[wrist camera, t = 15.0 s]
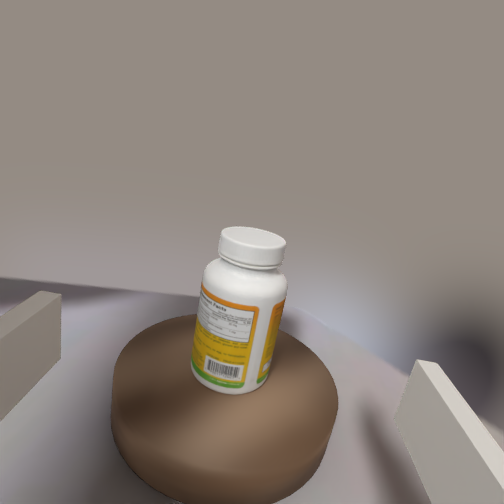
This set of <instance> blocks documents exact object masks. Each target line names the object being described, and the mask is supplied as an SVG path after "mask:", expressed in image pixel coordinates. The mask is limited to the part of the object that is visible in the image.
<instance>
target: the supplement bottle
mask: <svg viewBox="0 0 504 504" xmlns="http://www.w3.org/2000/svg"><path fill="white" fill-rule="evenodd" d="M285 247H286V242H285V240H284V239H283V238H282V237H280V236H278V235H276V234H274V233H271V232H268V231H265V230H261V229H256V228H249V227H228V228H225V229H223V230H222V232H221V236H220V242H219V247H218V254H219V255H220V257H221V258H218V259H215V260H213V261H212V262H210V263H209V264H208V265H207V266H206V268H205V270H204V273H203V278H202V285H201V292H200V298H199V306H198V313H197V320H196V327H195V334H194V341H193V347H192V354H191V369H192V372H193V374H194V376H195V377H196V378H197V380H198V381H200V382H201V383H202V384H203V385H205V386H206V387H208V388H210V389H212V390H214V391H217V392H220V393H224V394H232V395H238V394H245V393H249V392H251V391H254V390H256V389H257V388H259V387H260V386H261V385H262V384H263V383H264V382H265V380H266V378H267V376H268V372H269V368H270V364H271V359H272V355H273V350H274V346H275V342H276V337H277V333H278V329H279V324H280V320H281V316H282V312H283V307H284V302H285V299H286V294H287V288H288V286H287V281H286V278H285V276H284V275H283V273H282V272H281V271H280V270H279V269H277V268H278V267H280V266H281V264H282V261H283V259H284V253H285Z"/></svg>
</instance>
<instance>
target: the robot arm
mask: <svg viewBox="0 0 504 504" xmlns="http://www.w3.org/2000/svg"><path fill="white" fill-rule="evenodd" d="M60 358H61V294H58V293H52V292H47V291H41V290H40V291H39V292H37V293H35V294H34V295H32V296H31V297H29V298H28V299H26V300H25V301H23V302H22V303H20V304H19V305H17V306H16V307H14V308H13V309H11V310H10V311H8V312H7V313H5V314H4V315H2V316H1V317H0V421H1V420H2V419H3V418H4V417H5V416H6V415H7V414H8V413H9V412H10V411H11V410H12V409H13V408H14V407H15V406H16V405H17V403H18V402H19V401H20V400H21V399H22V398H23V397H24V396H25V395H26V394H27V393H28V392H29V391H30V390H31V389H32V388H33V387H34V386H35V385H36V384H37V383H38V381H39V380H40V379H41V378H42V377H43V376H44V375H45V374H46V373H47V372H48V371H49V370H50V369H51V368H52V367H53V366H54V365H55V364H56V363H57V362H58V361H59V360H60ZM394 421H395V423H396V425H397V427H398V430H399V432H400V434H401V436H402V439H403V441H404V443H405V445H406V448H407V450H408V452H409V454H410V457H411V459H412V461H413V463H414V466H415V468H416V470H417V472H418V475H419V477H420V479H421V481H422V484H423V486H424V488H425V490H426V493H427V495H428V497H429V499H430V502H431V504H504V452H503V451H502V449H501V448H500V447H499V445H498V444H497V443H496V441H495V440H494V439H493V437H492V436H491V435H490V433H489V432H488V431H487V429H486V428H485V427H484V425H483V424H482V423H481V421H480V420H479V419H478V417H477V416H476V415H475V413H474V412H473V411H472V409H471V408H470V407H469V405H468V404H467V403H466V401H465V400H464V399H463V397H462V396H461V395H460V393H459V392H458V391H457V389H456V388H455V387H454V385H453V384H452V382H451V381H450V380H449V378H448V377H447V376H446V374H445V373H444V372H443V370H442V369H441V368H440V367H439V365H438V364H437V363H433V362H428V361H422V360H416V362H415V365H414V367H413V370H412V372H411V375H410V378H409V380H408V383H407V385H406V388H405V391H404V393H403V396H402V398H401V401H400V404H399V406H398V409H397V412H396V414H395V417H394Z"/></svg>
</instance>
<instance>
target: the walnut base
mask: <svg viewBox="0 0 504 504" xmlns="http://www.w3.org/2000/svg"><path fill="white" fill-rule="evenodd" d="M196 320H197V314H195V315H187V316H181V317H176V318H172V319H169V320H165V321H162V322H160V323H157V324H155V325H153V326H151V327H149V328H147V329H145V330H143V331H142V332H140V333H139V334H137V335H136V336H135V337H134V338H133V339H132V340H131V341H129V343H128V344H127V345H126V346H125V347H124V349H123V350H122V352H121V353H120V355H119V357H118V359H117V362H116V365H115V368H114V376H113V390H112V405H111V428H112V432H113V436H114V440H115V443H116V445H117V447H118V450H119V452H120V454H121V455H122V457H123V458H124V460H125V461H126V463H127V464H128V466H129V467H130V468H131V469H132V470H133V471H134V472H135V473H136V474H137V475H138V476H139V477H140V478H141V479H142V480H144V481H145V482H146V483H147V484H149V485H150V486H151V487H152V488H154V489H156V490H158V491H159V492H161V493H163V494H165V495H166V496H168V497H170V498H173V499H175V500H178V501H180V502H183V503H185V504H272V503H275V502H278V501H280V500H282V499H284V498H286V497H288V496H290V495H291V494H293V493H294V492H296V491H297V490H298V489H300V488H301V487H302V486H303V485H304V484H305V483H306V482H307V481H308V480H309V479H310V478H311V477H312V476H313V475H314V473H315V472H316V470H317V469H318V467H319V466H320V463H321V461H322V459H323V456H324V454H325V451H326V447H327V444H328V441H329V438H330V435H331V432H332V429H333V425H334V422H335V419H336V415H337V410H338V395H337V389H336V386H335V383H334V380H333V378H332V376H331V374H330V372H329V370H328V369H327V368H326V366H325V365H324V363H323V362H322V361H321V360H320V359H319V358H318V356H317V355H316V354H315V353H314V352H312V351H311V350H310V349H309V348H308V347H307V346H305V345H304V344H303V343H301V342H300V341H299V340H297V339H295V338H294V337H292V336H291V335H289V334H287V333H285V332H283V331H281V330H279V329H278V333H277V337H276V342H275V346H274V350H273V355H272V359H271V364H270V368H269V372H268V376H267V378H266V380H265V382H264V383H263V384H262V385H261V386H260V387H259V388H257V389H256V390H254V391H251V392H249V393H245V394H238V395H232V394H224V393H220V392H217V391H214V390H212V389H210V388H208V387H206V386H205V385H203V384H202V383H201V382H200V381H198V380H197V378H196V377H195V376H194V374H193V372H192V369H191V354H192V347H193V341H194V334H195V327H196Z"/></svg>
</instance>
